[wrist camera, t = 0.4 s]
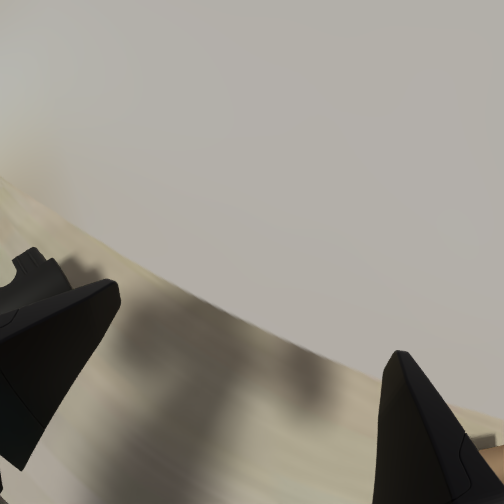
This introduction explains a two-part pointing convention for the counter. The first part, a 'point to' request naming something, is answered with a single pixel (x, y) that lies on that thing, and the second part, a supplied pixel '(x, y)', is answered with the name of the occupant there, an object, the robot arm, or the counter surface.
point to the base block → (495, 460)
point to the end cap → (32, 281)
